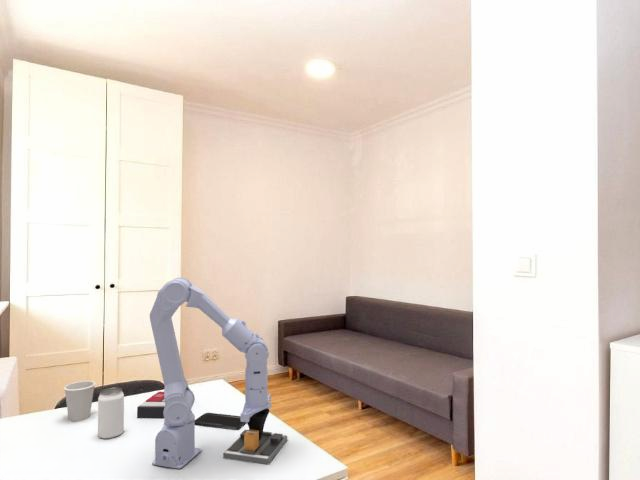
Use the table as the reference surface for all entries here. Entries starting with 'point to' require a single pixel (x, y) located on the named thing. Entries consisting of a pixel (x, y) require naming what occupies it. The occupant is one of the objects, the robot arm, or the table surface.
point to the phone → (220, 421)
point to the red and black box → (152, 407)
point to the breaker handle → (251, 440)
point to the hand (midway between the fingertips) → (256, 439)
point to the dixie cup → (79, 400)
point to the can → (110, 413)
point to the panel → (263, 453)
